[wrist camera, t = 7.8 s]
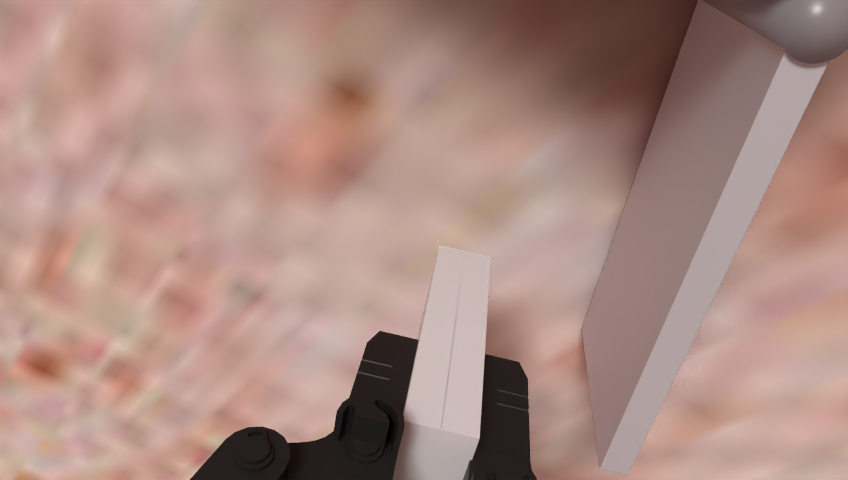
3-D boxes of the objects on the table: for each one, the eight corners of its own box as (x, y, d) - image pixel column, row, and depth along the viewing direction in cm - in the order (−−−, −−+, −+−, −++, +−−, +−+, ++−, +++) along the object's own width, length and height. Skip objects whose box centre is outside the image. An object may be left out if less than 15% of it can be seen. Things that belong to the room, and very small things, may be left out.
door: (628, 336, 22) (663, 486, 17) (575, 326, 22) (592, 470, 17) (780, -33, 16) (924, 7, 10) (704, -45, 16) (803, -13, 10)
